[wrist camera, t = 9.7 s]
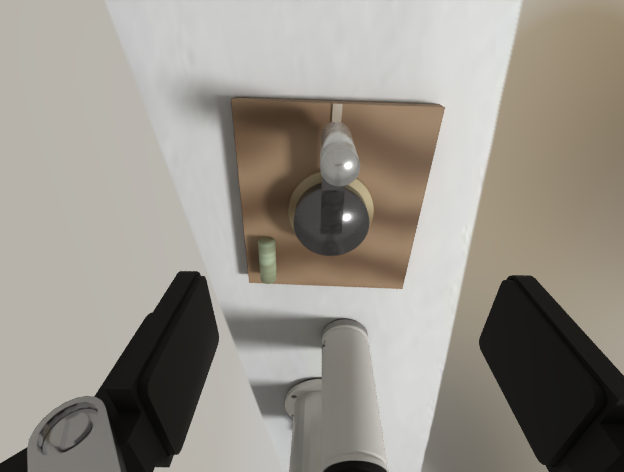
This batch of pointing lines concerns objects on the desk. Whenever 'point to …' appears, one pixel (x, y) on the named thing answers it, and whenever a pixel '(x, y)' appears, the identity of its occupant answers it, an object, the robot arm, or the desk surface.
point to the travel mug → (350, 402)
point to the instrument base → (306, 173)
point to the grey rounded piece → (333, 199)
